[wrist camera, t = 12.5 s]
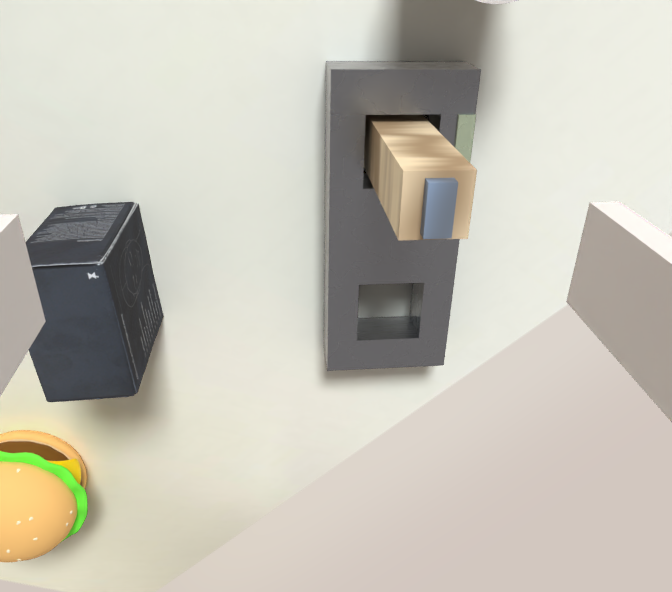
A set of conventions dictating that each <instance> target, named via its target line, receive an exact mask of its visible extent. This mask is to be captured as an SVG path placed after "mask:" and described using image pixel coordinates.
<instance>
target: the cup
mask: <svg viewBox="0 0 672 592" xmlns="http://www.w3.org/2000/svg"><path fill="white" fill-rule="evenodd" d="M476 1H479V2H483V3H489V4H504V3H510V2H514V1H518V0H476Z"/></svg>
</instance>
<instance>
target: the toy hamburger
mask: <svg viewBox="0 0 672 592" xmlns="http://www.w3.org/2000/svg"><path fill="white" fill-rule="evenodd" d="M86 481H87V474H86V468H85V466H84V463H83V461H82V459H81V457H80V456H79V454H78V453H77V452H76V451H75V450H74V449H73V448H72V447H71V446H70V445H69V444H67V443H66V442H65V441H63V440H61V439H59V438H57V437H55V436H52V435H50V434H46V433H42V432H38V431H30V430H19V431H11V432H7V433H4V434H0V562H16V561H23V560H29V559H33V558H37V557H39V556H42V555H44V554H46V553H47V552H49V551H51V550H52V549H53V548H54V547H55V546H57V545H58V544H59V543H61V542H62V541H63V540H65V539H66V538H68V537H69V536H71V535H73V534H75V533H76V532H78V531H79V529H80V528H81V526H82V525H83V523H84V521H85V518H86V516H87V512H88V509H87V494H86V491H85V486H86Z"/></svg>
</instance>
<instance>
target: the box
mask: <svg viewBox="0 0 672 592" xmlns="http://www.w3.org/2000/svg"><path fill="white" fill-rule="evenodd" d="M25 243H26V247H27V251H28V255H29V258H30V262H31V266H32V270H33V274H34V278H35V282H36V286H37V290H38V294H39V298H40V301H41V305H42V309H43V313H44V317H45V321H46V322H45V323H44V325H43V327H42V328H41V330H40V332H39V333H38V335H37V337H36V338H35V340H34V342H33V343H32V345H31V347H30V348H29V352H30V355H31V358H32V360H33V363H34V366H35V369H36V372H37V375H38V378H39V380H40V383H41V386H42V388H43V391H44V394H45V397H46V400H47V401H48V402H59V401H74V400H90V399H103V398H116V397H129V396H134V394H136V393H137V392H138V389H139V386H140V383H141V380H142V377H143V374H144V372H145V369H146V366H147V362H148V359H149V356H150V353H151V350H152V346H153V344H154V341H155V338H156V336H157V333H158V330H159V327H160V325H161V322H162V318H163V313H162V308H161V304H160V299H159V296H158V292H157V287H156V283H155V279H154V275H153V270H152V265H151V260H150V255H149V250H148V246H147V242H146V237H145V232H144V227H143V223H142V219H141V214H140V209H139V204H137V203H134V202H124V203H122V202H121V203H101V204H88V205H75V206H67V207H57V208H55V209H54V210H53V211H52V213H51V214H50V215H49V216H48V217H47V218H46V219H45V221H44V222H43V223H42V224H41V225H40V227H39V228H38V229H37V230H36V231H35V232H34V233H33V235H32V236H31V237H30V238H29V239H28V240H27V241H26V242H25Z"/></svg>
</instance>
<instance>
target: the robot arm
mask: <svg viewBox="0 0 672 592" xmlns="http://www.w3.org/2000/svg"><path fill="white" fill-rule="evenodd" d="M566 302H567V303H568V304H569V305H570V307H571V308H572V309H573V310H574V311H575V312H576V313H577V315H578V316H579V317H580V318H581V319H582V320H583V321H584V323H585V324H586V325H587V326H588V327H589V328H590V329H591V331H592V332H593V333H594V334H595V335H596V336H597V337H598V339H599V340H600V341H601V342H602V343H603V344H604V345H605V346H606V348H607V349H608V350H609V351H610V352H611V353H612V354H613V356H614V357H615V358H616V359H617V360H618V361H619V362H620V364H621V365H622V366H623V367H624V368H625V369H626V371H627V372H628V373H629V374H630V375H631V376H632V377H633V379H634V380H635V381H636V382H637V383H638V384H639V385H640V386H641V388H642V389H643V390H644V391H645V392H646V393H647V395H648V396H649V397H650V398H651V399H652V400H653V401H654V403H655V404H656V405H657V406H658V407H659V408H660V409H661V411H662V412H663V413H664V414H665V415H666V416H667V417H668V419H670V421H671V422H672V237H671V236H669V235H668V234H666V233H665V232H663V231H662V230H661V229H659V228H658V227H656V226H655V225H653V224H652V223H650V222H649V221H647V220H646V219H645V218H643V217H642V216H640V215H639V214H637V213H636V212H634V211H633V210H631V209H630V208H629V207H627V206H626V205H624V204H623V203H621V202H590V203H589V207H588V212H587V216H586V220H585V225H584V229H583V233H582V237H581V242H580V246H579V250H578V254H577V259H576V263H575V267H574V272H573V276H572V280H571V284H570V289H569V293H568V297H567V301H566ZM45 322H46V321H45V317H44V313H43V309H42V305H41V301H40V298H39V294H38V290H37V286H36V282H35V278H34V274H33V270H32V266H31V262H30V258H29V255H28V251H27V247H26V243H25V239H24V235H23V231H22V227H21V223H20V219H19V215H18V214H5V215H0V396H1V395H2V393H3V391H4V390H5V388H6V386H7V385H8V383H9V381H10V380H11V378H12V376H13V375H14V373H15V371H16V370H17V368H18V366H19V365H20V363H21V361H22V360H23V358H24V356H25V355H26V353H27V352H28V350H29V348H30V347H31V345H32V343H33V342H34V340H35V338H36V337H37V335H38V333H39V332H40V330H41V328H42V327H43V325H44V323H45Z"/></svg>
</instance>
